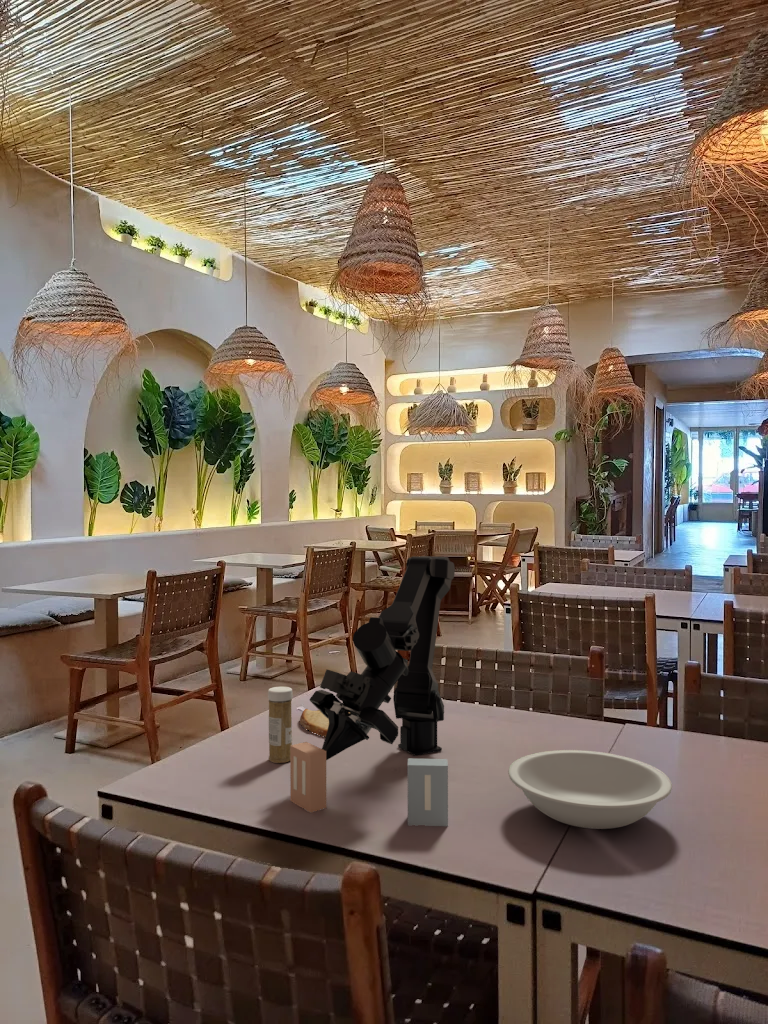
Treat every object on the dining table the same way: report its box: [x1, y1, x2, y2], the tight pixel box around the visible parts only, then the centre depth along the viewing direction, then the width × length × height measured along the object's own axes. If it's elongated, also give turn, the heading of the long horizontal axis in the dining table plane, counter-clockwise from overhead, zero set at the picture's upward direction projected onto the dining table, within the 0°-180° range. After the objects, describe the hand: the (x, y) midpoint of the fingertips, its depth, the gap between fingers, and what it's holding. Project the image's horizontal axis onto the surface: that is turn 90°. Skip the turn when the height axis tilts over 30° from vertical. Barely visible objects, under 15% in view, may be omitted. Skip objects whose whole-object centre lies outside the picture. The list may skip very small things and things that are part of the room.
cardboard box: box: [289, 741, 327, 813], centre depth 119 cm, size 3×6×9 cm, turn 37°
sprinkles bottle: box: [267, 686, 293, 764], centre depth 140 cm, size 5×5×14 cm
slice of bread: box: [299, 708, 350, 738], centre depth 162 cm, size 18×18×4 cm
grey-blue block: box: [407, 758, 449, 827], centre depth 112 cm, size 3×6×9 cm, turn 87°
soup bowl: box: [507, 749, 673, 830], centre depth 113 cm, size 24×24×7 cm
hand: (322, 758), depth 120 cm, fingers closed
